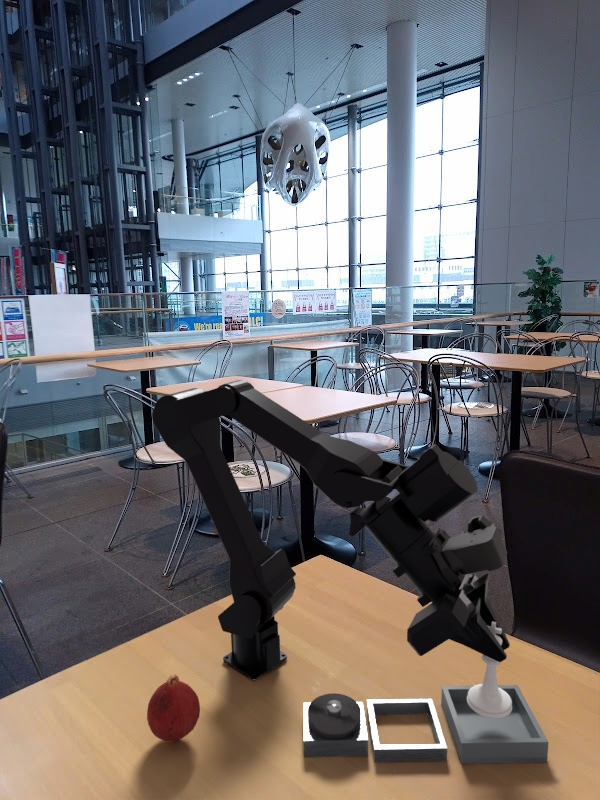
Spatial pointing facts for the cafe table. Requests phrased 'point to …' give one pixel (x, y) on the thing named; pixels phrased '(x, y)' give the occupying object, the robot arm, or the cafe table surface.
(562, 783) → the cafe table surface
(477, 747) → the tray
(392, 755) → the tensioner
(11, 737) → the cafe table surface
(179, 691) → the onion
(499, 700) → the chess piece
